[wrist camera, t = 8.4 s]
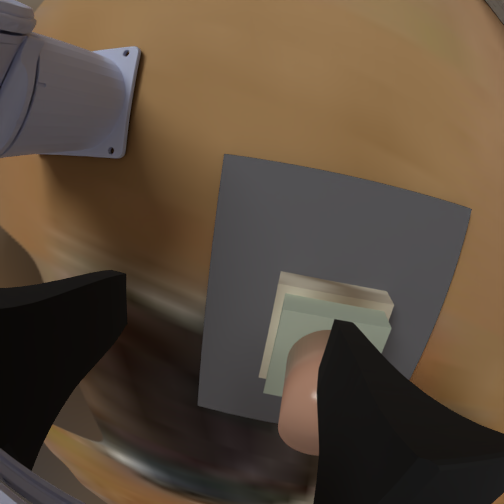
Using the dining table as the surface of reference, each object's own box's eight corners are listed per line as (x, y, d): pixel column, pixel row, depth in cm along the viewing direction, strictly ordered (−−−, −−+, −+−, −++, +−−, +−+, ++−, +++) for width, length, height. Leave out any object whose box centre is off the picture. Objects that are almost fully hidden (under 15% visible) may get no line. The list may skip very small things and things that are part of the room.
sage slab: (267, 373, 20) (263, 393, 18) (285, 293, 18) (282, 309, 16) (354, 387, 19) (356, 407, 17) (384, 311, 17) (391, 328, 15)
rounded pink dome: (277, 382, 18) (267, 446, 13) (299, 321, 16) (294, 383, 11) (347, 396, 17) (353, 460, 12) (376, 338, 16) (394, 401, 11)
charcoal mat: (199, 400, 25) (197, 405, 25) (226, 154, 19) (224, 154, 18) (377, 430, 23) (377, 435, 23) (467, 207, 17) (471, 209, 17)
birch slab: (262, 360, 22) (258, 377, 20) (280, 271, 20) (278, 283, 18) (355, 375, 21) (358, 393, 19) (386, 291, 19) (394, 304, 17)
